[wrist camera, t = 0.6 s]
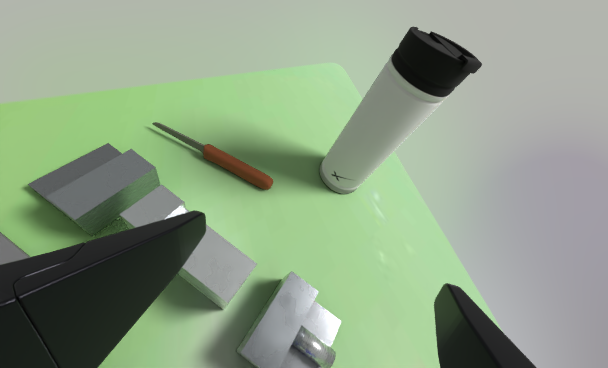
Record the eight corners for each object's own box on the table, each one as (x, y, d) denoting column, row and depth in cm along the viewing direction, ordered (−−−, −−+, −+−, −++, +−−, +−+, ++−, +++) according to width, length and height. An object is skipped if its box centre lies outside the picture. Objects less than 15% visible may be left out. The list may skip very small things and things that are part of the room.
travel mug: (327, 198, 32) (449, 57, 16) (313, 159, 35) (403, 6, 19) (365, 194, 34) (501, 69, 19) (348, 158, 37) (453, 23, 22)
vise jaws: (303, 404, 20) (319, 414, 17) (32, 188, 21) (7, 166, 19) (337, 321, 24) (355, 319, 21) (110, 147, 26) (99, 124, 23)
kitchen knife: (272, 185, 30) (275, 177, 28) (267, 193, 29) (270, 185, 28) (157, 125, 29) (155, 113, 28) (149, 132, 28) (146, 119, 27)
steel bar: (223, 310, 21) (229, 301, 16) (138, 242, 22) (119, 214, 17) (248, 276, 24) (260, 260, 19) (170, 216, 24) (161, 184, 19)
